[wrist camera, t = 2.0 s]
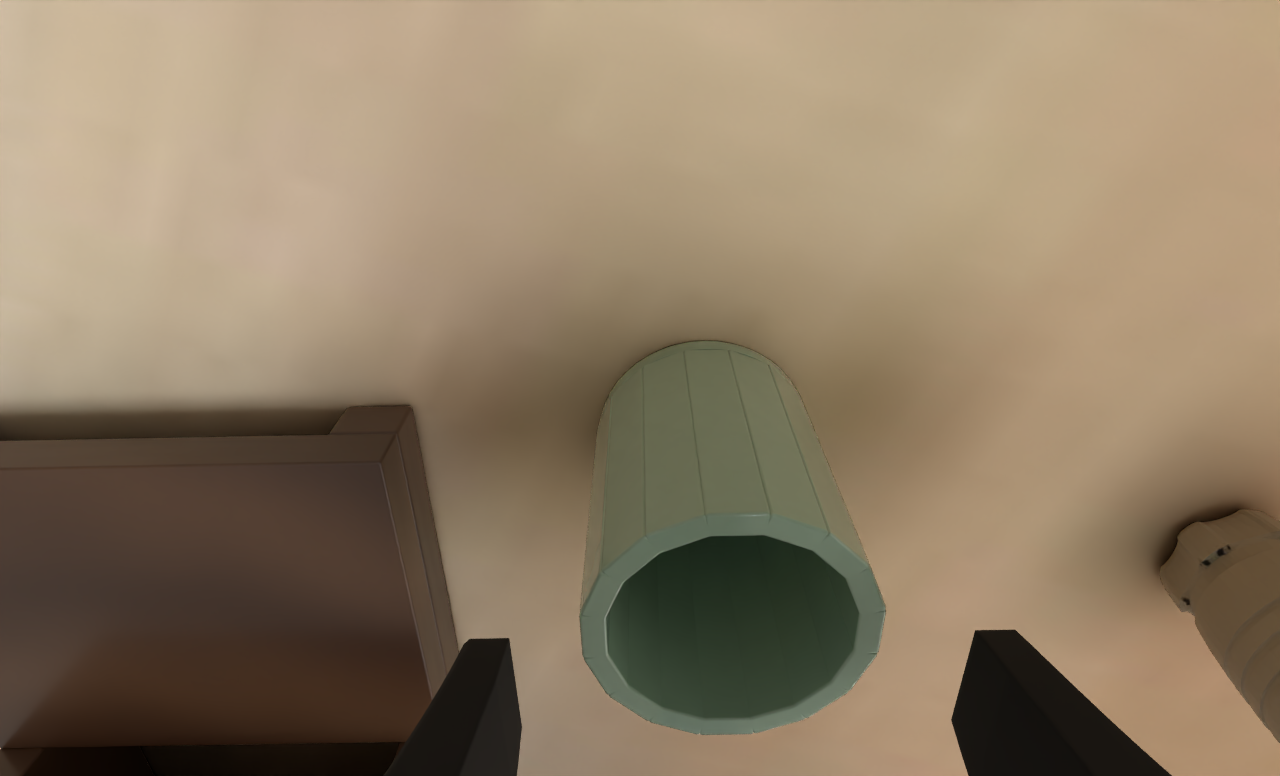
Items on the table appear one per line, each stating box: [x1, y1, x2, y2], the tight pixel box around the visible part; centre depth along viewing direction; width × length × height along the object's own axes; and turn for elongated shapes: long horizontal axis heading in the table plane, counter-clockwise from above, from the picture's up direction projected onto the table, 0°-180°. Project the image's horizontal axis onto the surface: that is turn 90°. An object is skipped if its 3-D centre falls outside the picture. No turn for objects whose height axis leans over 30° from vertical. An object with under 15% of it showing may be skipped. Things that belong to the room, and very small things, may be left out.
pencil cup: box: [579, 341, 886, 735], centre depth 15 cm, size 5×5×6 cm
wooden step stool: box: [0, 406, 459, 776], centre depth 19 cm, size 18×12×7 cm, turn 1°
